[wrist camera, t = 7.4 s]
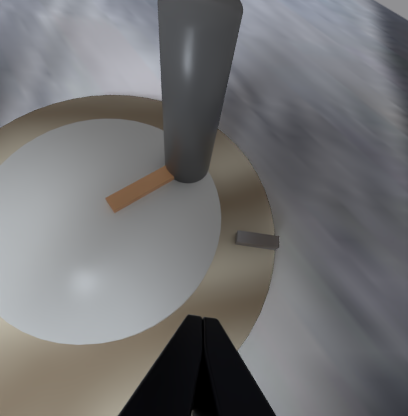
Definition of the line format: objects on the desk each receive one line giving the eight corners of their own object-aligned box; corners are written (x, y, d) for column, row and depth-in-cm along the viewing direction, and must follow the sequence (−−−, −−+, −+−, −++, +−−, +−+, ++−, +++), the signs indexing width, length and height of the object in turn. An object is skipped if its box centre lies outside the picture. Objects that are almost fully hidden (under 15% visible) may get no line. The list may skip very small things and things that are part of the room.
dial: (267, 241, 15) (387, 124, 6) (45, 410, 11) (-366, 655, 3) (150, 101, 18) (131, -94, 10) (-54, 191, 14) (-372, -11, 6)
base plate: (330, 322, 14) (351, 321, 13) (-76, 530, 10) (-125, 568, 8) (200, 82, 21) (202, 60, 19) (-82, 141, 16) (-111, 120, 14)
